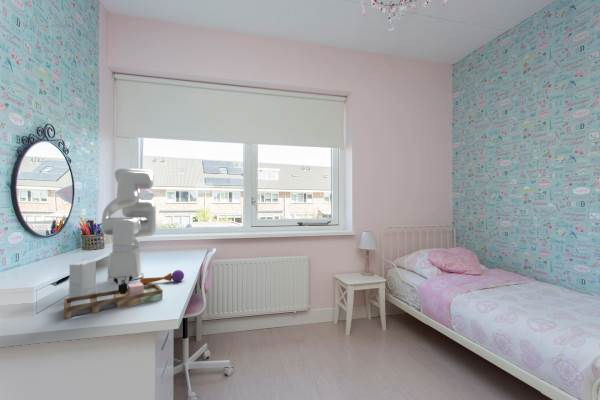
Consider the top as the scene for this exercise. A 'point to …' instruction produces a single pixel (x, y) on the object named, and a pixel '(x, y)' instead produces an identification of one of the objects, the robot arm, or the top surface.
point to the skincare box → (82, 278)
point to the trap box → (110, 301)
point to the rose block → (135, 288)
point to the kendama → (176, 277)
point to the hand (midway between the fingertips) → (122, 293)
